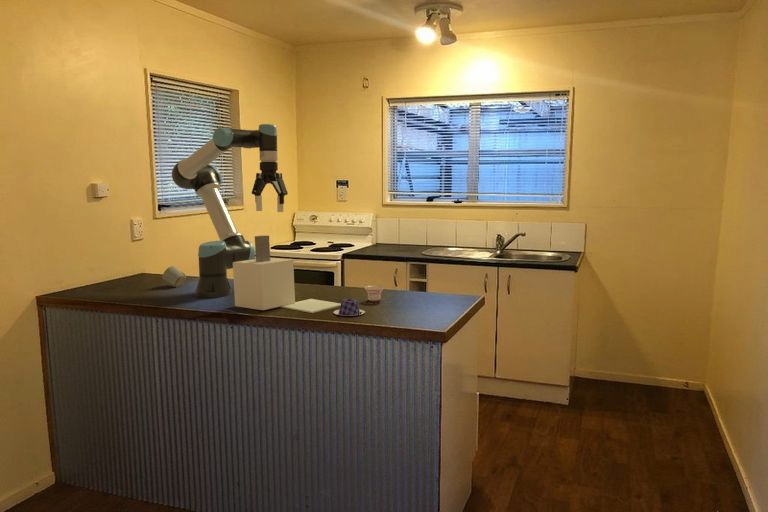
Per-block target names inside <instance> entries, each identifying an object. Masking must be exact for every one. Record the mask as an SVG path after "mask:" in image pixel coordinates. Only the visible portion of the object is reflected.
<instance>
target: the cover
mask: <svg viewBox="0 0 768 512" xmlns="http://www.w3.org/2000/svg"><path fill="white" fill-rule="evenodd" d="M254 249H255V258H254V259H253V260H246V261H238V262H233V269H232V272H233V273H232V274H233V275H232V276H233V291H234V294H233V295H234V307H238V308H246V309H251V310H252V309H253V310H259V311H266V310H271V309H275V308H281V307H280V306H284V305H289V304H293V303H295V302H296V292H295V271H294V270H295V268H294V267H295V266H294V259H291V258H290V259H286V258H276V257H275V258H274V257H273V258H272V257H271V249H270V235H255V236H254Z"/></svg>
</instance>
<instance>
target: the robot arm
mask: <svg viewBox="0 0 768 512" xmlns="http://www.w3.org/2000/svg"><path fill="white" fill-rule="evenodd" d="M277 131H278V129H277V126H276V125H275V124H272V123H263V124H259V125H258V129H239V128H231V127H217V128H215V129H214V131H213V134H212V138H211V139H210V140H209V141H207V142H206V143H205V144H203V145H202V146H201V147H199V149H197V150H195V152H193V153H192V154H190V155H189V156H188V157H187V158H185V159H184V158H183V159H181V160H179V161H178V162H177V163H175V165H174V166H173V167H172V170H171V178H172V182H174V184H175V185H176V186H177V187H179V188H181V189H183V190H193V191H194V192H195V194H196V196H197V197H199V198H200V199H202V202H203V204H204V207H205V209H206V211H207V213H208V215H209V217H210V220H211V223H212V225H213V227H214V230H215V231H216V233H217V235H218V238H219V240H211V241H207V242H203V243H200V245H199V246H198V254H197V256H198V277H199V279H198V282H197V285H196V289H195V296H196V297H198V298H203V299H204V298H205V299H207V298H209V299H210V298H211V299H212V298H213V299H214V298H225V297H227V296H230V295H232V287H231V284H230V281H229V280H228V276H227V275H228V274H227V273H228V272H227V271H228V270H233V262H238V261H246V260H253V259H255V257H256V254H255V245H254V244H253V242H251V241H249V240H246V239H245V237H244V236H243V234H241V233H239V232H238V230H237V228H236V226H235V225H236V224H235V223H234V221H233V220H232V216H231V215H230V213H229V209H228V208H227V205H226V203H225V202H224V199H223V197H222V196H223V195H221V192H220V189H221V184H222V174H221V172H220V170H219V169H218V167H217V166H215V165H213V164H211V163H212V162H214V161H215V160H216V159H218V158H219V157H220V156H222V155H223V154H224V153H226V152H227V151H228V150H230V149H232V148H242V149H250V150H251V149H258V148H259V161H260V162H259V170H260V171H261V172H256V174H255V179H254V183H253V186H252V190H251V195H254V199H255V201H254V202H255V210H256V212H263V196H262V193H263V191H264V189H265V188H266V186H267V184H270V185H272V187H273V188H274V191H275V192H276V194H277V197H276V201H277V202H276V203H277V209H276V210H277V213H284V204H285V196H287V195H288V191H287V190H288V189H287V188H286V184H285V181H284V179H283V173H282V172H277V171H278V168H279V167H278V165H279V163H278V159H279V158H278V132H277Z"/></svg>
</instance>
